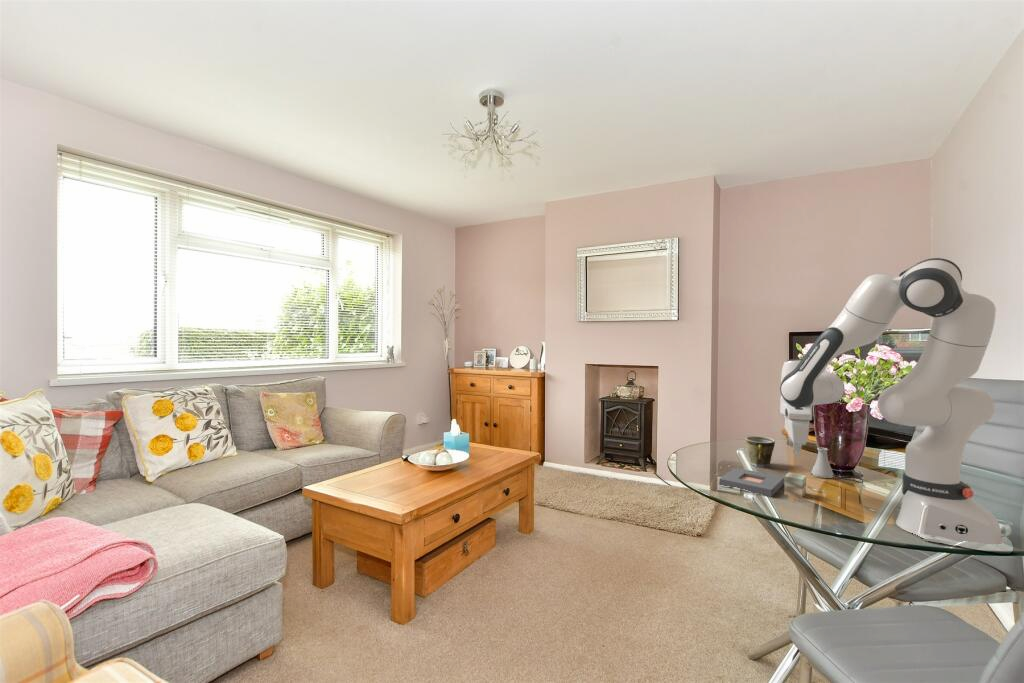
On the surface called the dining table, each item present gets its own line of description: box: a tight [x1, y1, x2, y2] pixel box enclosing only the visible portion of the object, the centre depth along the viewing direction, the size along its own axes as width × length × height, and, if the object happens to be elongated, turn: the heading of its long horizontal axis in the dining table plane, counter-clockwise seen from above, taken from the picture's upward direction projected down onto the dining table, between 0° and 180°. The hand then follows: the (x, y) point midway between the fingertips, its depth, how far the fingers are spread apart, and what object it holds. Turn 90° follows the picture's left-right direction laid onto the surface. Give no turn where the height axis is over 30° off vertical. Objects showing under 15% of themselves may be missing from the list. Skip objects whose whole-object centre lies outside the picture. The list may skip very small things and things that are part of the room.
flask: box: [810, 447, 835, 479], centre depth 171 cm, size 7×7×10 cm
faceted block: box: [784, 472, 807, 499], centre depth 154 cm, size 5×5×6 cm
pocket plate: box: [718, 467, 785, 498], centre depth 163 cm, size 16×16×2 cm
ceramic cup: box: [745, 435, 776, 469], centre depth 183 cm, size 13×10×10 cm
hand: (794, 450), depth 154 cm, fingers open, 8 cm apart
